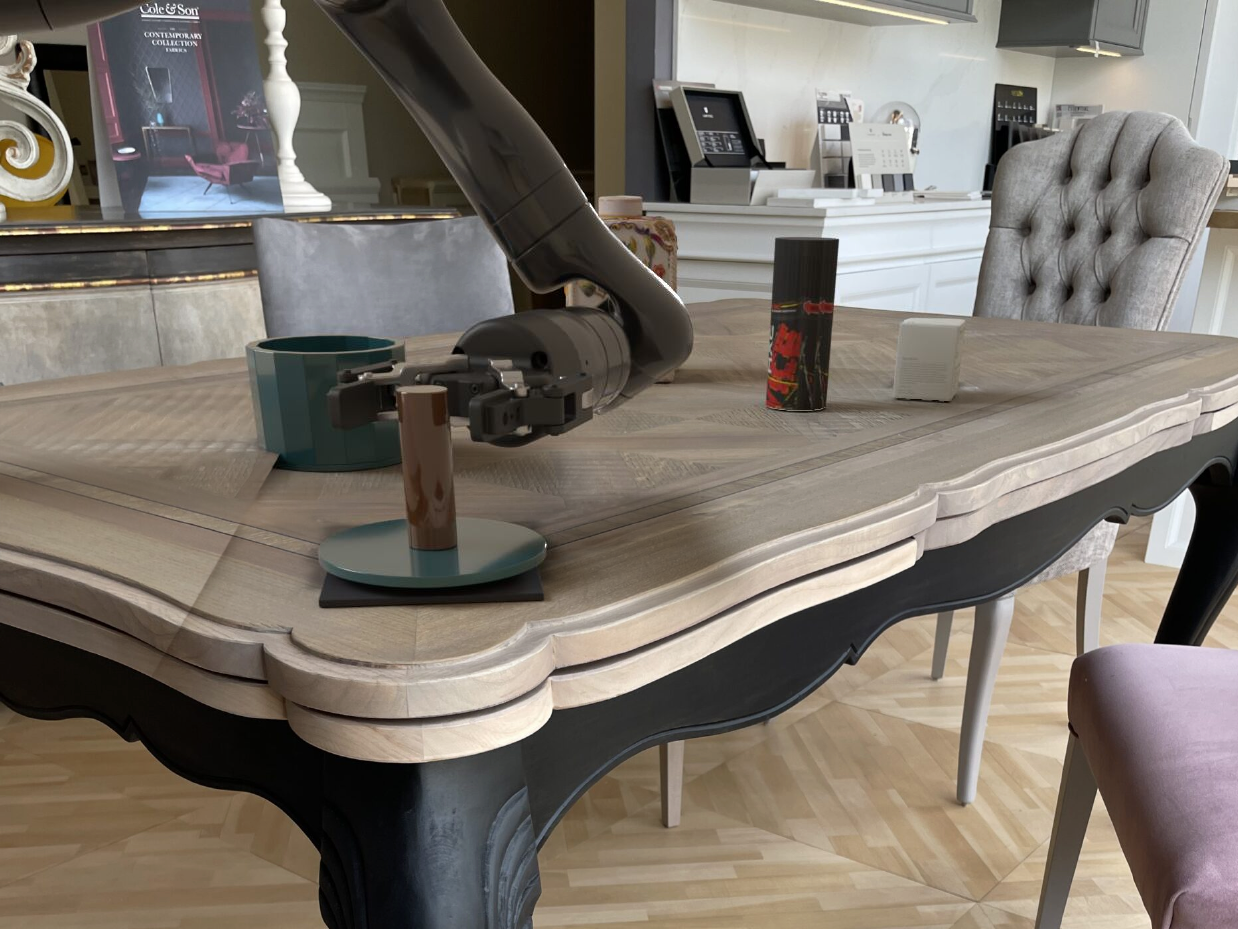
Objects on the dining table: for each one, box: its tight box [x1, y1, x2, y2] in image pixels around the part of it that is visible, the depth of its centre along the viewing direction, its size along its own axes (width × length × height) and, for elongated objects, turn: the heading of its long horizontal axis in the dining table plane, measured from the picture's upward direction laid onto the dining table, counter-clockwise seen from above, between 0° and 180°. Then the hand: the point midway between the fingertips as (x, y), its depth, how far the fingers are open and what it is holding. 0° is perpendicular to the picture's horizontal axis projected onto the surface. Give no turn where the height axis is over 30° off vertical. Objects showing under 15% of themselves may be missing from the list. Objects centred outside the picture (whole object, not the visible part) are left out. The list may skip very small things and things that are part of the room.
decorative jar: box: [563, 195, 679, 383], centre depth 136 cm, size 12×12×18 cm
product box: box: [892, 317, 967, 402], centre depth 128 cm, size 6×6×7 cm
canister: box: [244, 333, 408, 473], centre depth 99 cm, size 12×12×8 cm
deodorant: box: [765, 236, 840, 410], centre depth 120 cm, size 6×6×15 cm
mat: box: [318, 565, 545, 608], centre depth 72 cm, size 12×12×1 cm
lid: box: [317, 385, 547, 588], centre depth 70 cm, size 13×13×10 cm
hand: (404, 416), depth 67 cm, fingers open, 8 cm apart
